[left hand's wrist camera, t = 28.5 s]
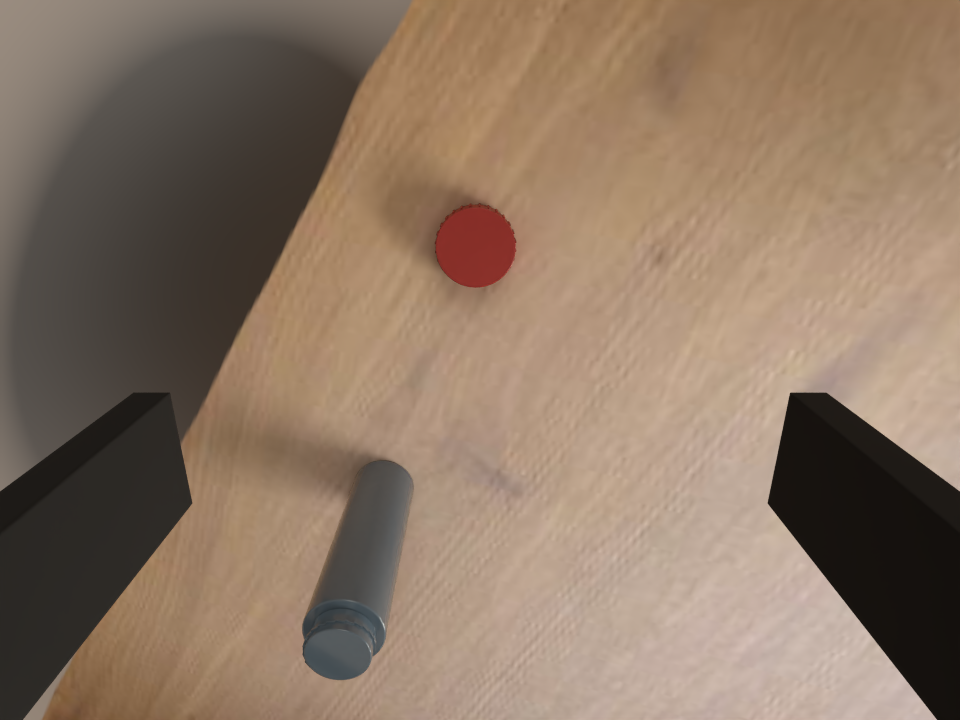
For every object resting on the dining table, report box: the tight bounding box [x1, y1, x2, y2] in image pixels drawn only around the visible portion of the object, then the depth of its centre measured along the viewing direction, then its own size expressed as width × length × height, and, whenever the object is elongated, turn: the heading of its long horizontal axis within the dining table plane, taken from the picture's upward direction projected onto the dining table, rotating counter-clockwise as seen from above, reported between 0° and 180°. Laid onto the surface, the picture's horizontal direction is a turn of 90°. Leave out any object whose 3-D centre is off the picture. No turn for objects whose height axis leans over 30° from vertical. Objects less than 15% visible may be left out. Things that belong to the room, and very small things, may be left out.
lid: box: [435, 203, 516, 287], centre depth 36 cm, size 5×5×2 cm
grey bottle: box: [302, 461, 414, 680], centre depth 36 cm, size 4×4×15 cm
